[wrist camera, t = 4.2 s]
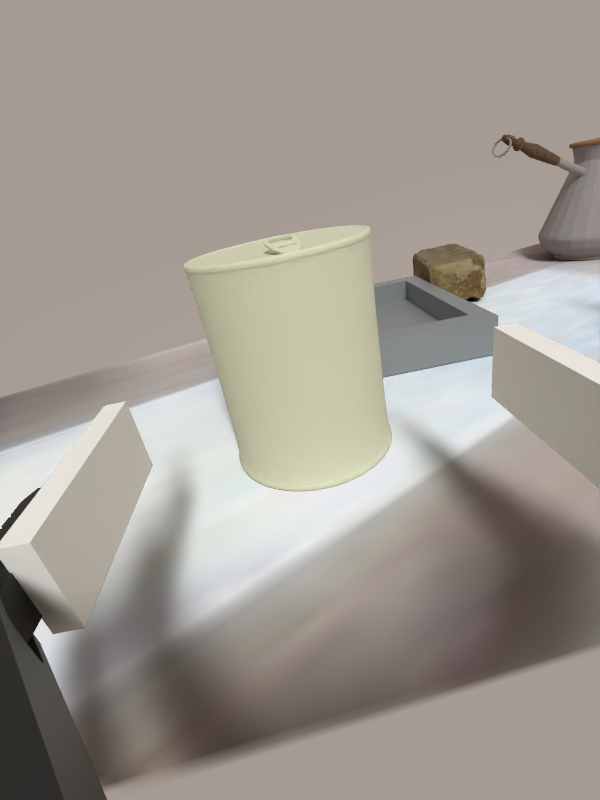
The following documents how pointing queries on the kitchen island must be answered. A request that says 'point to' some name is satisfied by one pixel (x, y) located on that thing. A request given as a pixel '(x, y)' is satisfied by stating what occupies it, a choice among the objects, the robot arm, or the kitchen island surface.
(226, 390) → the can
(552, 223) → the coffee pot
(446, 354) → the tray
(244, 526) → the kitchen island surface
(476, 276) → the stone block
